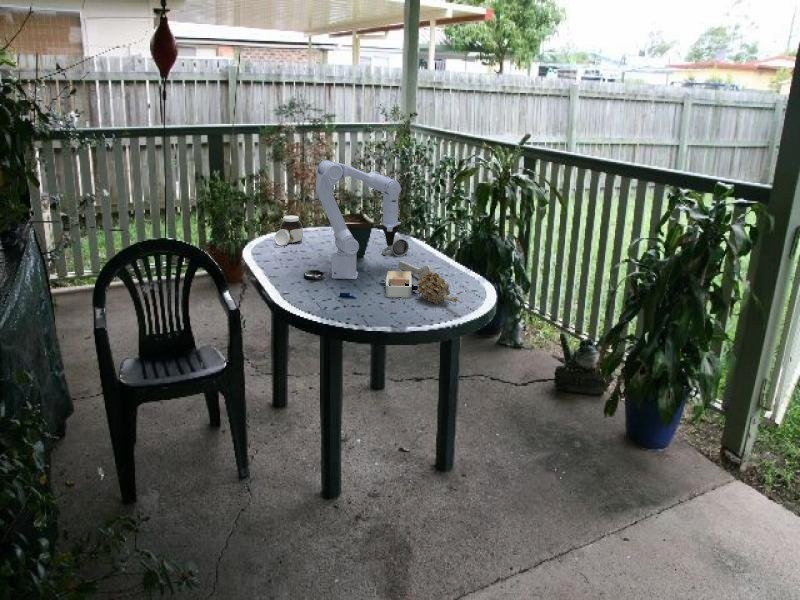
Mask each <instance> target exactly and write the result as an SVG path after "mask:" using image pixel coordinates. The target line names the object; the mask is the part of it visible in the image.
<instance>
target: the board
mask: <svg viewBox="0 0 800 600" xmlns="http://www.w3.org/2000/svg"><path fill="white" fill-rule="evenodd" d="M386 272H387V274H386V276H387V275H389V283H392V278H393V277H405V283H406V284H409V276H411V277H412V273H411V271H405V270H403V271H401V270H387V271H386Z"/></svg>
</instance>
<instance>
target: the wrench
mask: <svg viewBox="0 0 800 600" xmlns="http://www.w3.org/2000/svg"><path fill="white" fill-rule="evenodd" d="M398 268H399V269H401V270H403V271H411V275H415V276H418V278H419V279H420V278H421V276H422V275H424V273H427V272H432V273H433V274H434V273H435V271H434V267H433V266H432V265H429V264H427V265H424V266H423V267H418V266H416V265H414V264H412V263H409V262H407V261H403V260H401V261H399V262H398Z"/></svg>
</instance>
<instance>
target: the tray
mask: <svg viewBox="0 0 800 600" xmlns="http://www.w3.org/2000/svg"><path fill="white" fill-rule="evenodd" d="M412 282H413V281H412V275H411V276H409V286H389V275H387V274H386V281H385V298H398V297H401V298H402V299H404V298H405V299H406V298H407V299H409V298H410V299H412Z"/></svg>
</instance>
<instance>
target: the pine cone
mask: <svg viewBox="0 0 800 600" xmlns="http://www.w3.org/2000/svg"><path fill="white" fill-rule="evenodd" d="M417 282H418V283H417V286H418V287H417V289H416V291H417V292H418V293H419V294H421V297H422V298H423V299H425V300H426V299H427V301H428V302H430V303H432V302H434V304H435V305H439V304H440V303H441V302H442V303H443V302H444V301H449V302H453V303H457V301H458V296H455V297H451V296H449V295H450V290H449V288H450V285H449V284H448V283H447V282H446V281H445V279H444V278H443V276H441V277H440V275H439V273H437V272H434V274H433V273H432V272H427V273H424V275H422V276H421V278H420V277H419V279H418V281H417Z"/></svg>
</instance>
